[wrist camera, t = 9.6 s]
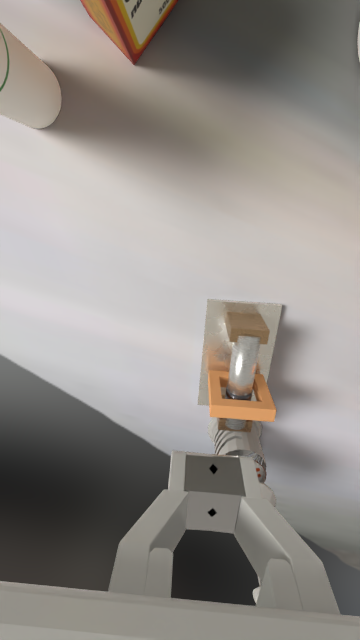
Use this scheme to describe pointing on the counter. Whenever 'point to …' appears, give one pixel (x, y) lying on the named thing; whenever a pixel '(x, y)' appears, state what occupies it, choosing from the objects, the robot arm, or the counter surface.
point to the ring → (240, 408)
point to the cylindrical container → (26, 85)
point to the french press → (243, 446)
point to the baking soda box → (129, 21)
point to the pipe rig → (237, 350)
